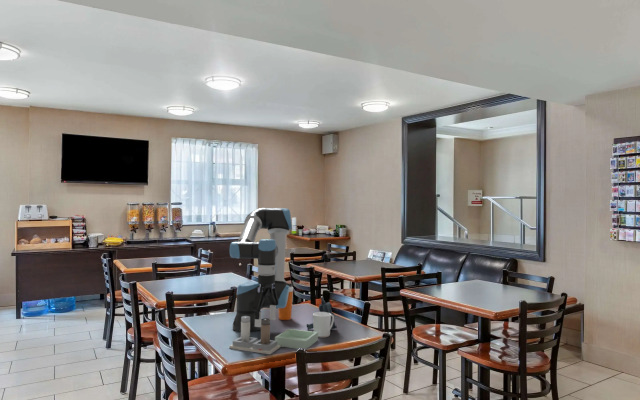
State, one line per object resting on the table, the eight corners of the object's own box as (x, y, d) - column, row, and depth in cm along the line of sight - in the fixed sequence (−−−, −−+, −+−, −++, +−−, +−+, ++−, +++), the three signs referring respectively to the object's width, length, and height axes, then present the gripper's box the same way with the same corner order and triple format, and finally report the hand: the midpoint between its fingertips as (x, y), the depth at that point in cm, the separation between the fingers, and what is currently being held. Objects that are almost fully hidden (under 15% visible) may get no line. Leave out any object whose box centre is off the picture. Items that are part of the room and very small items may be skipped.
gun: (301, 301, 219) (329, 294, 219) (309, 333, 219) (337, 326, 219) (300, 303, 217) (329, 295, 217) (308, 335, 216) (337, 327, 216)
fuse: (238, 344, 188) (239, 317, 188) (243, 342, 192) (244, 315, 192) (246, 346, 186) (247, 318, 187) (251, 343, 190) (251, 316, 190)
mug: (316, 338, 202) (317, 317, 203) (309, 333, 211) (310, 312, 211) (337, 336, 207) (337, 315, 207) (329, 331, 215) (330, 311, 215)
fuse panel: (229, 348, 186) (229, 341, 186) (241, 341, 195) (241, 335, 195) (269, 354, 179) (270, 347, 179) (280, 347, 188) (280, 340, 188)
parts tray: (274, 345, 191) (274, 337, 191) (288, 336, 205) (288, 328, 205) (305, 349, 186) (305, 341, 186) (317, 340, 200) (317, 332, 200)
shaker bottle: (284, 315, 246) (284, 281, 246) (296, 318, 240) (296, 282, 241) (273, 318, 238) (274, 283, 239) (285, 321, 233) (286, 285, 234)
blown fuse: (258, 347, 184) (259, 320, 185) (263, 345, 188) (263, 317, 188) (267, 348, 183) (267, 321, 183) (271, 346, 187) (271, 318, 187)
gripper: (260, 278, 173) (259, 330, 172) (286, 271, 197) (285, 317, 196) (244, 277, 176) (243, 328, 175) (271, 270, 199) (270, 316, 198)
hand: (265, 323), depth 185 cm, fingers open, 13 cm apart
